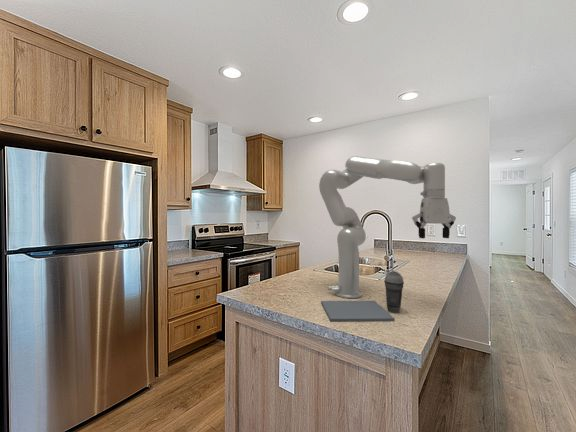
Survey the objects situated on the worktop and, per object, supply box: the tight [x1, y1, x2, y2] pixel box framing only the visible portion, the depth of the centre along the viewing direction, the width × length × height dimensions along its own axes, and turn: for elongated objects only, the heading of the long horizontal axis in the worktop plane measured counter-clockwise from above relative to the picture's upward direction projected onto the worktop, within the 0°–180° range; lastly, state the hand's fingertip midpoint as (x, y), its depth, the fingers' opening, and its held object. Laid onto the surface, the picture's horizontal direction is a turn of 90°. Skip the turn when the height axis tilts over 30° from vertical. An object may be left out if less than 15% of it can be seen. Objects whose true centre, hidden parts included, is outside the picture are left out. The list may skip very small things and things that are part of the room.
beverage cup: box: [383, 259, 404, 314], centre depth 108 cm, size 7×7×20 cm
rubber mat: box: [320, 300, 396, 323], centre depth 108 cm, size 23×20×1 cm
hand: (433, 238), depth 109 cm, fingers open, 9 cm apart
